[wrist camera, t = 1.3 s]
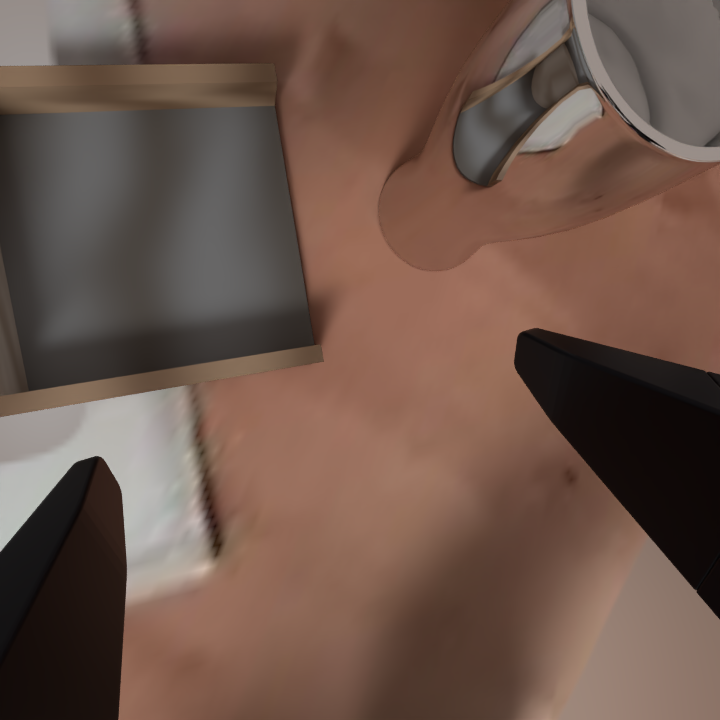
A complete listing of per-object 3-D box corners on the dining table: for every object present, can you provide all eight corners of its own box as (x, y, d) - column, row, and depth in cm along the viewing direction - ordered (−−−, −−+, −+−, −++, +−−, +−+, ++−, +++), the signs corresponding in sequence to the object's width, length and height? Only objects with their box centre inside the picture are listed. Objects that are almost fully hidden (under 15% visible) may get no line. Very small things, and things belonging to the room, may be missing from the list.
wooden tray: (271, 93, 22) (276, 38, 19) (315, 360, 23) (329, 362, 19) (-46, 102, 19) (-120, 37, 15) (16, 412, 20) (-40, 425, 16)
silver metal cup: (373, 281, 24) (573, 162, 9) (365, 147, 24) (557, -189, 9) (492, 279, 25) (821, 176, 11) (486, 154, 25) (811, -121, 11)
